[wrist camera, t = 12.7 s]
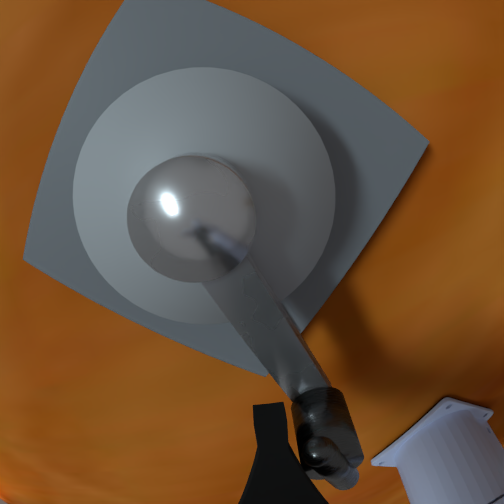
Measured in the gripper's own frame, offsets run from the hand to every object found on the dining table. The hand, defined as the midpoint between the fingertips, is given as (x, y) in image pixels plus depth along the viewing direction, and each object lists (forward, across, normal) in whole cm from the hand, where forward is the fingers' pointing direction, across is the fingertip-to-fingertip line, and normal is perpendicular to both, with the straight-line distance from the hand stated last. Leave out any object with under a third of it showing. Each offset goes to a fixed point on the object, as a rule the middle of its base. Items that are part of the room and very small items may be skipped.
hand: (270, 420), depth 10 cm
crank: (+2, 0, -3) cm, 4 cm away
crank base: (+4, +1, -7) cm, 8 cm away
